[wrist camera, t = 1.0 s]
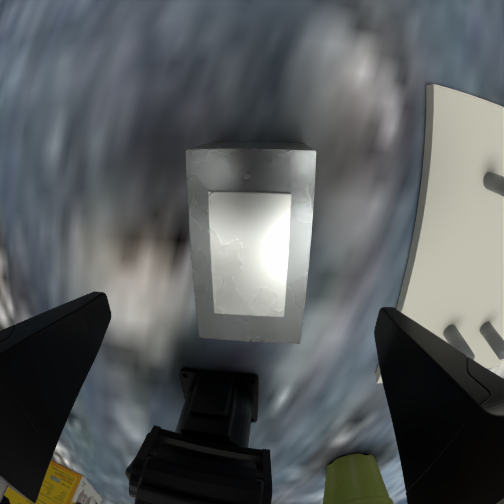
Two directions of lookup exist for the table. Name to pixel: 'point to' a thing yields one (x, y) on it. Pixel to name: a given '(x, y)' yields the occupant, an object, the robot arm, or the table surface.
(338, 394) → the table surface
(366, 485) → the plant pot
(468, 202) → the peg board
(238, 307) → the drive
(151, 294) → the table surface
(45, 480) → the packaging box
